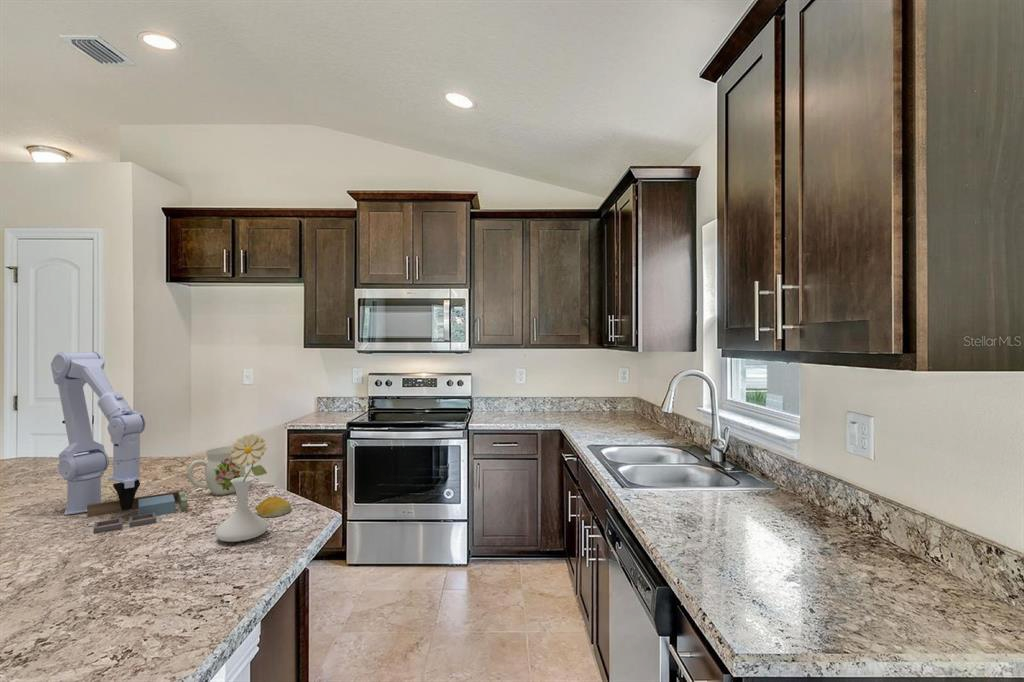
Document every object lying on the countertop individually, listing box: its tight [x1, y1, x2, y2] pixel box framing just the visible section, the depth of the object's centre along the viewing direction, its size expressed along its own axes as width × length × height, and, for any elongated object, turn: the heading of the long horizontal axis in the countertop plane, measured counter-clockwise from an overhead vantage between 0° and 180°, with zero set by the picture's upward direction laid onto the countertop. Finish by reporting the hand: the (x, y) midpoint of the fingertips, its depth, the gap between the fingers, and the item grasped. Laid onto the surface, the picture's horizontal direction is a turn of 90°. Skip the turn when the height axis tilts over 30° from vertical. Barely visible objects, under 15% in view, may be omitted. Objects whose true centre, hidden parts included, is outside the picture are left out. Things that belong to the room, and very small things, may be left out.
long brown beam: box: [86, 490, 188, 518], centre depth 139 cm, size 12×22×3 cm, turn 127°
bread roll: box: [256, 496, 292, 518], centre depth 140 cm, size 8×9×4 cm
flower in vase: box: [214, 433, 270, 543], centre depth 122 cm, size 13×11×25 cm
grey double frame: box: [93, 512, 157, 535], centre depth 130 cm, size 6×12×1 cm, turn 127°
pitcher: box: [187, 445, 246, 496], centre depth 158 cm, size 11×18×14 cm, turn 131°
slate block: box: [137, 494, 176, 517], centre depth 140 cm, size 8×8×4 cm
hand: (126, 509), depth 137 cm, fingers closed
